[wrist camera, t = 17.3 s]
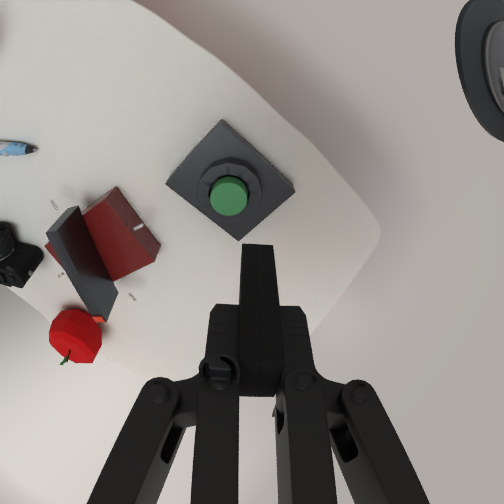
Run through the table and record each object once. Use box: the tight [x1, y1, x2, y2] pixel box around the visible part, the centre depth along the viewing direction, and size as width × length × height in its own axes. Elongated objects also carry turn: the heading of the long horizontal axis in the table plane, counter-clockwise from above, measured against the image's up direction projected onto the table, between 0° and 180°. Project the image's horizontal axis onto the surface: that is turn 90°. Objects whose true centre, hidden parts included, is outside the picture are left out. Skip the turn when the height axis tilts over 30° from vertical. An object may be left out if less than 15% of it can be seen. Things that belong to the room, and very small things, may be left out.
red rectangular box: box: [45, 186, 161, 301], centre depth 35 cm, size 18×18×4 cm
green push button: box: [210, 176, 247, 216], centre depth 28 cm, size 4×4×2 cm
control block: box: [165, 119, 295, 241], centre depth 30 cm, size 11×9×4 cm
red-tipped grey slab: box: [46, 206, 118, 322], centre depth 31 cm, size 14×2×6 cm, turn 7°
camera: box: [0, 222, 44, 288], centre depth 32 cm, size 14×7×8 cm, turn 78°
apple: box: [49, 309, 102, 365], centre depth 43 cm, size 11×11×10 cm
